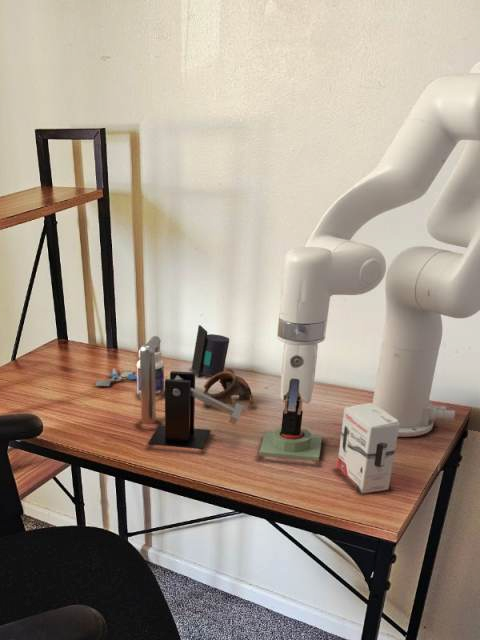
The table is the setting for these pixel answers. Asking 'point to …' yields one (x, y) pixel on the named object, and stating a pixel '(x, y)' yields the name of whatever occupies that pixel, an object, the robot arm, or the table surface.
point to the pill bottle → (158, 375)
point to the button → (293, 436)
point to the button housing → (291, 446)
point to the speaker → (209, 353)
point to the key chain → (115, 375)
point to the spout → (148, 380)
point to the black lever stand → (180, 415)
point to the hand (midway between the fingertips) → (290, 432)
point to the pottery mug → (229, 387)
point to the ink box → (368, 446)
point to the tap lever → (217, 404)
